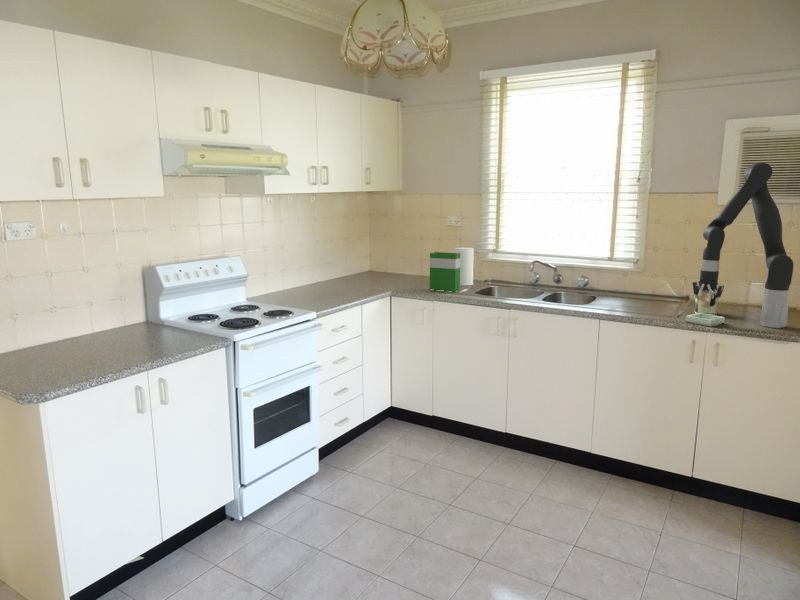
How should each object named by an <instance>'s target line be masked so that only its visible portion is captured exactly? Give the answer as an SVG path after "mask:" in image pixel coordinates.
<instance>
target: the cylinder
mask: <svg viewBox="0 0 800 600" xmlns="http://www.w3.org/2000/svg"><path fill="white" fill-rule="evenodd" d="M474 251H475V248H474V247H468V246H467V247H465V246H464V247H463V246H462V247H460V246H459V247H455V248H454V253H460V285H473V286H474V264H475V263H474V262H475V261H474V256H475V254H474V253H475V252H474Z"/></svg>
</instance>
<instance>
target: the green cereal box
mask: <svg viewBox="0 0 800 600" xmlns="http://www.w3.org/2000/svg"><path fill="white" fill-rule="evenodd" d="M430 289H434V290H444V291H452V292H456V291H459V290H460V291H461V287H460V253H455V252H443V251H442V252H441V251H439V252H438V251H435V252H430V253H429V290H430ZM460 291H459V292H460ZM456 293H457V292H456Z"/></svg>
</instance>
